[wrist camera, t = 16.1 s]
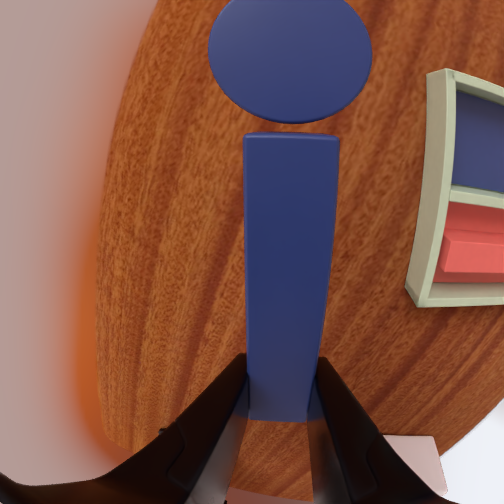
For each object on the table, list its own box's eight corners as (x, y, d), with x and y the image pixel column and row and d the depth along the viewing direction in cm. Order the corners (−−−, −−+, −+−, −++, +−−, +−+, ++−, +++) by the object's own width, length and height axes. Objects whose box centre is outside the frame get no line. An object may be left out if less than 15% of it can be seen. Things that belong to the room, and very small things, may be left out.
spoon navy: (330, 375, 10) (334, 423, 8) (230, 370, 11) (219, 417, 9) (357, 3, 6) (377, -32, 4) (219, 1, 6) (196, -34, 4)
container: (341, 467, 27) (343, 566, 15) (376, 432, 24) (391, 551, 12) (396, 468, 27) (407, 556, 15) (434, 434, 24) (458, 534, 12)
